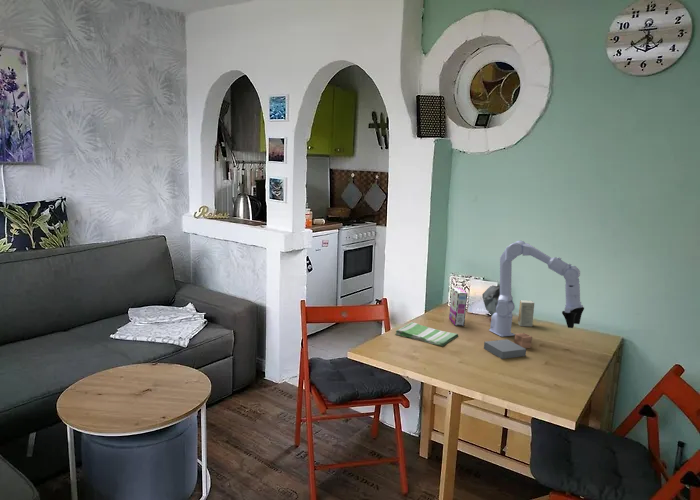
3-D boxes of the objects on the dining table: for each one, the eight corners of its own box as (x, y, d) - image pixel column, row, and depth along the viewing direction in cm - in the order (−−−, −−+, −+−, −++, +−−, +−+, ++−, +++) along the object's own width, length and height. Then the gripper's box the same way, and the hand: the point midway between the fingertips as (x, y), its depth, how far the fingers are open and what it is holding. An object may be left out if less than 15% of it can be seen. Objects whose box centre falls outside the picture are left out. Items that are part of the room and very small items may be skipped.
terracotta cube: (513, 344, 223) (515, 333, 222) (523, 343, 225) (524, 333, 224) (521, 348, 219) (522, 337, 218) (530, 347, 220) (532, 336, 220)
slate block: (483, 348, 216) (484, 341, 216) (506, 345, 221) (507, 339, 220) (501, 358, 206) (502, 351, 205) (525, 355, 210) (526, 349, 210)
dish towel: (442, 348, 216) (443, 341, 215) (394, 335, 228) (394, 329, 228) (458, 337, 231) (458, 331, 230) (412, 326, 243) (412, 320, 243)
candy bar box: (465, 326, 246) (468, 293, 243) (454, 325, 245) (457, 293, 242) (458, 319, 257) (461, 287, 254) (448, 318, 256) (451, 287, 253)
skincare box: (530, 324, 254) (533, 300, 252) (532, 326, 250) (535, 303, 247) (517, 323, 254) (519, 299, 252) (519, 325, 250) (521, 302, 248)
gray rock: (473, 318, 258) (476, 284, 255) (486, 313, 269) (490, 280, 266) (499, 325, 249) (503, 290, 246) (512, 319, 260) (516, 285, 257)
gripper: (576, 298, 210) (577, 330, 211) (588, 292, 221) (589, 322, 222) (559, 297, 215) (560, 328, 216) (571, 291, 226) (572, 321, 227)
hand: (573, 325), depth 219 cm, fingers open, 7 cm apart
